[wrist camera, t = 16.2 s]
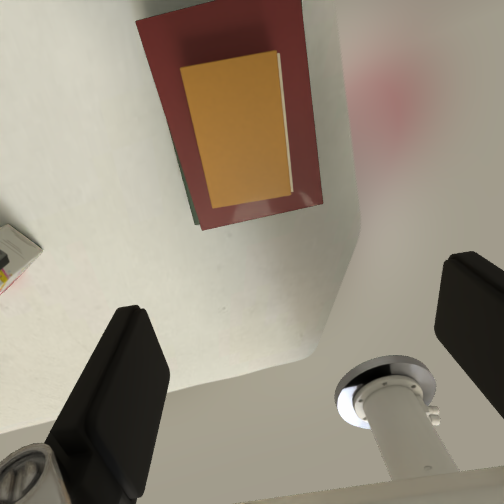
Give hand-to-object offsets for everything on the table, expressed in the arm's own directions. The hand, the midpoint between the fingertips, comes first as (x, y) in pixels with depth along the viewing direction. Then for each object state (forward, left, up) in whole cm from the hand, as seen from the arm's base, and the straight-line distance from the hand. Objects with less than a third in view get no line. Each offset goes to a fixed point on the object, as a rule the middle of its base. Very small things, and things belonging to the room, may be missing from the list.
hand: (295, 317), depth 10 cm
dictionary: (+2, -3, -20) cm, 21 cm away
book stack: (+2, -3, -27) cm, 27 cm away
